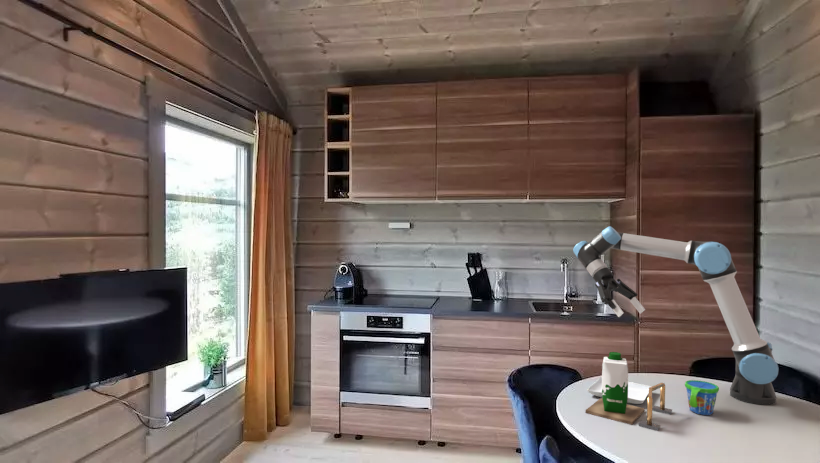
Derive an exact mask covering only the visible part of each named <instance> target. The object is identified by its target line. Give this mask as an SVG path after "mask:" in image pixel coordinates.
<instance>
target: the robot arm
mask: <svg viewBox="0 0 820 463" xmlns="http://www.w3.org/2000/svg"><path fill="white" fill-rule="evenodd" d="M572 249H573V252H572V253H573V254H574V255H575V257H576V258H577V259H578V261H579V262H580V263H581V264H582V266H583V267H584V268H585V270H586V271H587V272H588V273H589V275H590V276H591V277H592V279H593V280H594V282H595V284H594V285H595V287H596V288H597V292H598V295H599V297H600V300H601V303H604V305H608V306H609V307H610V308H611V309H612V310H613V312H614V313H615V315H616V316H617V317H618V318H621V317H622V315H623V314H624V311H623V310H622V308H621V307H620V306H619V304H618V302H616V300H615V299H613V298H612V292H615V293H619V294H620V295H622V296H624V297H626V299H629V303H631V305H632V306H633V307H634V308H635V310H636V311H637V312H638V313H639V314H640V315H641V314H642V313H643V312H644V311H646V308H645V307H644V305H643V304H641V302H640V301H639V300H638V298H637V296H638V293H637V292H636V291H634V290H633V289H632V288H631V287H630V286H628V285H627V284H626V283H624V281H622V280H621V279H620V278H617V279H614V274H613V272H612V271H611V269H610V268H609V267H608V265H607V264H606V263H605V261H603V259H602V258H601V256H602V255H603V254H605V253H606V252H608V251H609V250H610V249H614V250H621V251H627V252H632V253H639V254H645V255H650V256H655V257H662V258H669V259H675V260H680V261H684V262H685V263H686V264H689V265H690V264H691V265H695V266H696V267H697V268H698V270H699V271H698V272H699V273H700V276H701V279H702V280H703V281H704V283H708V285H709V286H710V289H711V291H712V294H713V296H714V299H715V301H716V303H717V306H718V307H719V310H720V312H721V315H722V317H723V321H724V323H725V325H726V327H727V329H728V332H729V335H730V338H731V339H732V342H733V346H732V347H731V351H732V354H733V356H734V359H735V376H734V378H733V381H732V383H731V385H730V388H729V395H730V396H731V397H732V398H734V399H736V400H738V401H741V402H745V403H750V404H754V405H755V404H756V405H764V406H765V405H775V404H776V403H777V394H776V392H775V389H774V386H773V384H772V383H773V382H774V381H775V380H776V379H777V377H778V375H779V370H780V369H779V365H778V362H777V361H776V360H775V358H774V355H773V352H772V351H773V345H772V343H771V342H769V341H766V340H764V339H762V338H761V337H760V334H759V332H758V330H757V328H756V325H755V323H754V320H753V318H752V315H751V314H750V311H749V309H748V306H747V304H746V301H745V299H744V296H743V295H742V293H741V290H740V288H739V286H738V283H737V281H736V277H735V276H736V274H737V273H738V271H737V268H736V267H735V266H736V265H735V264H734V262H733V259H732V255H731V252H730V250H729V249H728V247H727V246H725V245H724V244H722V243H721V242H720V243H719V242H718V241H712V240H711V241H698V240H697V241H696V240H689V241H688V242H686V241H679V240H673V239H666V238H665V239H664V238H659V237H654V236H653V237H652V236H645V235H639V234H638V235H637V234H634V233H633V234H632V233H631V234H630V233H626V232H625V233H624V232H618V231H617V230H616V229H615V228H614V227H612V226H611V225H610V226H607V227H606V228H604V229H603V230H602V231H601V232H599V233H598V234H597V235H596V236H595V237H594V238H592V239H591V240H590V241H586V240H581V241H579V242H578V243H576V244H575V245H574V247H573V248H572Z"/></svg>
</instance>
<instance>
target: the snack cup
mask: <svg viewBox="0 0 820 463" xmlns="http://www.w3.org/2000/svg"><path fill="white" fill-rule="evenodd" d="M684 386H685V388H686V395H687V402H688V408H689V411H691V412H693V413H695V414H697V415H702V416H710V415H712V414H714V410H715V405H716V400H717V394H718V393H719V390H720V388H719V386H718V385H717V384H715V383H712V382H708V381H704V380H695V379H691V380H687V381H685V383H684Z"/></svg>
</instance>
